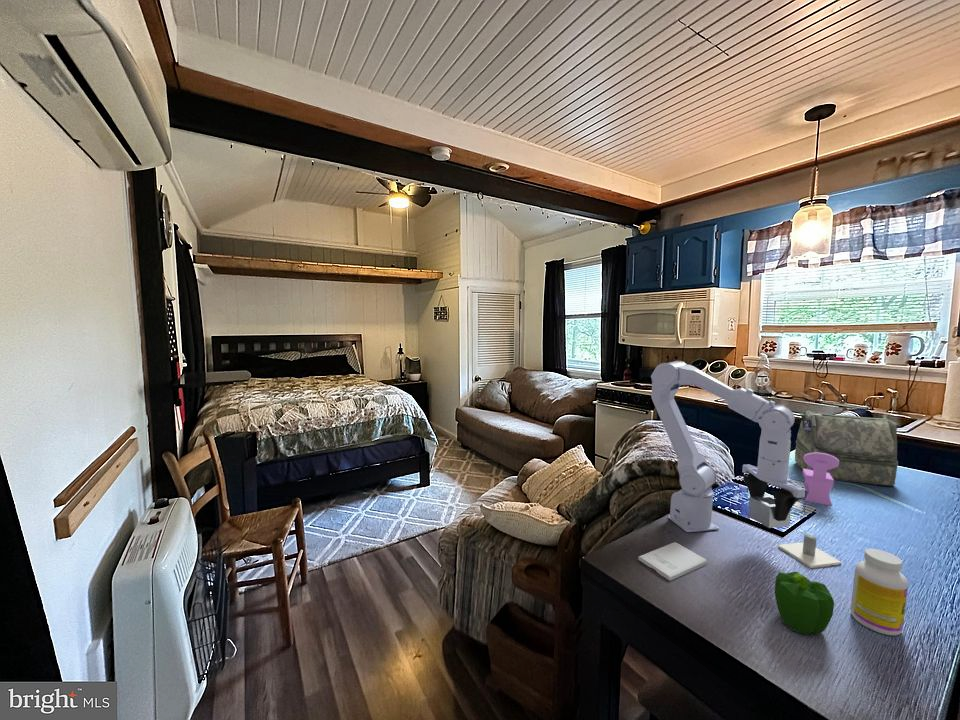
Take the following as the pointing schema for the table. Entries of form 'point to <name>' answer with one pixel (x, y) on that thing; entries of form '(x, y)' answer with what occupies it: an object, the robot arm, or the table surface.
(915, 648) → the table surface
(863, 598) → the supplement bottle
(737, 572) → the table surface
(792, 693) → the table surface
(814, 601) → the bell pepper
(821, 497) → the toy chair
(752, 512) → the white storage bin
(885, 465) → the lunch bag
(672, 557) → the external hard drive
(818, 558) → the peg base
